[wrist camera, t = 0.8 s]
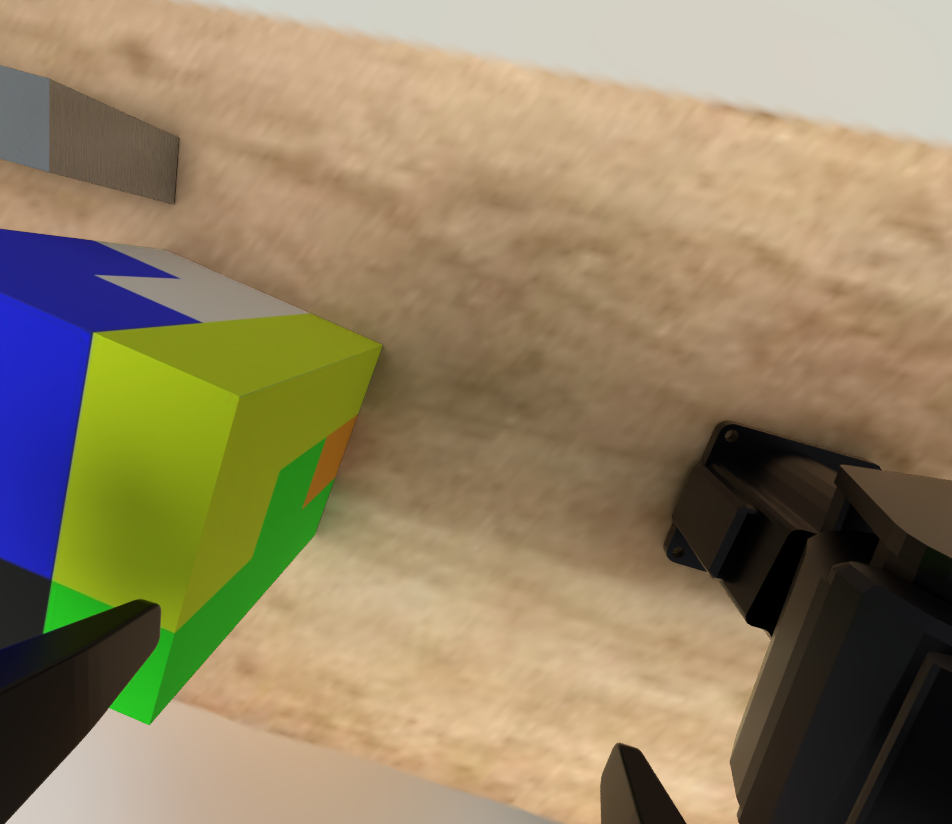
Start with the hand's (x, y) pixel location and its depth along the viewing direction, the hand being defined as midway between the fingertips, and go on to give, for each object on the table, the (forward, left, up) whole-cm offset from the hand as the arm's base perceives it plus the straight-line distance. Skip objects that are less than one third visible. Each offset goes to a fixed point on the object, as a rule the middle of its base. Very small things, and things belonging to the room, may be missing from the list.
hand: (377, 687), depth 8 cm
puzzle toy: (+10, 0, -12) cm, 16 cm away
